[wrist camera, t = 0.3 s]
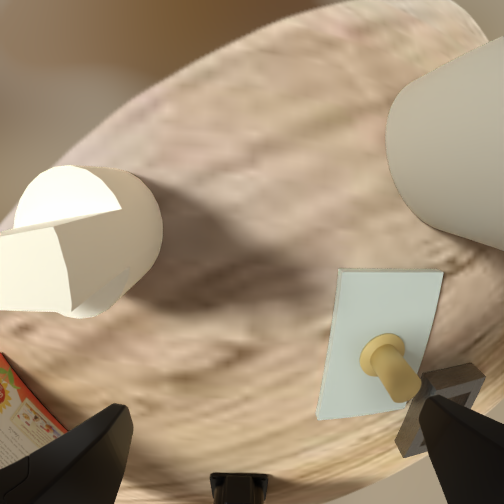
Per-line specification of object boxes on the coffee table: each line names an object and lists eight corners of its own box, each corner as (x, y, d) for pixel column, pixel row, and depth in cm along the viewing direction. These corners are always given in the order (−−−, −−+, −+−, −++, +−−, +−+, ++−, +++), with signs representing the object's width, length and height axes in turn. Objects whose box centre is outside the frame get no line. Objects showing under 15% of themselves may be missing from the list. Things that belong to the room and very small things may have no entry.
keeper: (400, 402, 24) (424, 441, 18) (315, 413, 24) (328, 460, 18) (437, 268, 21) (481, 293, 15) (338, 268, 21) (368, 298, 15)
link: (441, 428, 26) (451, 443, 23) (394, 440, 26) (403, 458, 23) (471, 362, 24) (485, 376, 21) (422, 373, 23) (436, 390, 21)
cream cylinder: (156, 158, 19) (52, 136, 7) (171, 283, 21) (101, 382, 10) (55, 179, 19) (-63, 190, 8) (72, 288, 21) (-24, 358, 10)
